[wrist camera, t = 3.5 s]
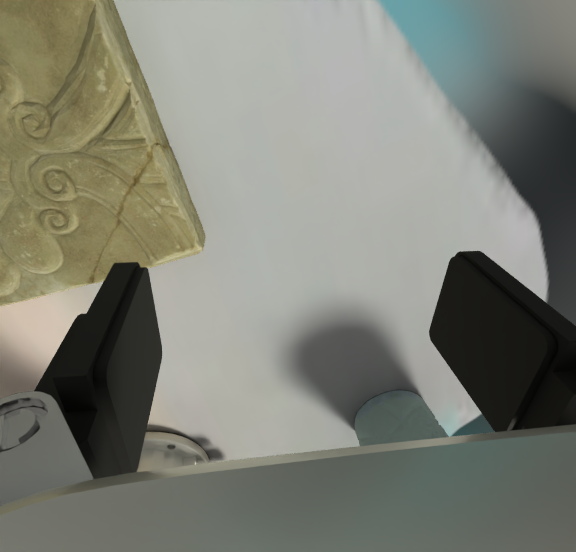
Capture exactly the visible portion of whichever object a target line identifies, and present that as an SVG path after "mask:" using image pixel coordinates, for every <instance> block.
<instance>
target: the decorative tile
mask: <svg viewBox="0 0 576 552" xmlns="http://www.w3.org/2000/svg"><path fill="white" fill-rule="evenodd" d="M204 242H205V233H204V230H203V227H202V224H201V222H200V220H199V217H198V214H197V211H196V209H195V207H194V205H193V202H192V200H191V197H190V195H189V192H188V189H187V186H186V183H185V181H184V178H183V175H182V173H181V170H180V168H179V165H178V163H177V161H176V158H175V156H174V153H173V151H172V148H171V147H170V146H169V142H168V140H167V137H166V134H165V132H164V129H163V126H162V124H161V121H160V118H159V116H158V113H157V110H156V107H155V104H154V101H153V99H152V96H151V93H150V91H149V88H148V86H147V83H146V81H145V79H144V76H143V74H142V72H141V69H140V67H139V64H138V62H137V59H136V57H135V54H134V52H133V50H132V47H131V45H130V42H129V40H128V37H127V34H126V31H125V29H124V26H123V24H122V21H121V19H120V16H119V14H118V11H117V9H116V6H115V3H114V1H113V0H0V306H3V305H8V304H12V303H17V302H22V301H26V300H30V299H34V298H38V297H42V296H45V295H49V294H53V293H57V292H61V291H65V290H69V289H72V288H76V287H80V286H84V285H88V284H92V283H98V282H102V281H104V280H105V279H106V277H107V275H108V273H109V271H110V269H111V267H112V266H113V264H114V263H122V262H138V263H139V264H140V267H147V268H151V267H154V266H158V265H161V264H165V263H168V262H171V261H175V260H178V259H182V258H185V257H188V256H192V255H195V254H198V253H200V252H201V251H203V247H204Z"/></svg>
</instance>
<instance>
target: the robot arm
mask: <svg viewBox="0 0 576 552" xmlns="http://www.w3.org/2000/svg"><path fill="white" fill-rule="evenodd" d="M429 335H430V339H431V341H432V343H433V344H434V346H435V347H436V348H437V350H438V351H439V353H440V354H441V356H442V357H443V358H444V360H445V361H446V363H447V364H448V365H449V367H450V368H451V370H452V371H453V373H454V374H455V375H456V377H457V378H458V380H459V381H460V383H461V384H462V385H463V387H464V388H465V390H466V391H467V393H468V394H469V395H470V397H471V398H472V400H473V401H474V403H475V404H476V405H477V407H478V408H479V410H480V411H481V412H482V414H483V415H484V417H485V418H486V420H487V421H488V422H489V424H490V425H491V427H492V428H493V430H494V431H495V432H493V433H483V434H473V435H464V436H455V437H444V438H434V439H425V440H415V441H406V442H396V443H387V444H377V445H368V446H358V447H349V448H339V449H330V450H321V451H312V452H303V453H294V454H285V455H276V456H267V457H257V458H248V459H239V460H230V461H221V462H213V463H210V462H209V458H208V456H207V454H206V452H205V451H204V450H203V449H202V448H201V447H200V446H199V445H197V444H196V443H194V442H193V441H191V440H189V439H187V438H185V437H182V436H179V435H175V434H171V433H164V432H146V429H147V424H148V420H149V415H150V411H151V406H152V401H153V397H154V392H155V387H156V383H157V378H158V373H159V369H160V364H161V359H162V345H161V339H160V333H159V328H158V322H157V317H156V311H155V305H154V300H153V294H152V289H151V283H150V277H149V272H148V269H147V267H140V264H139V263H138V262H122V263H114V264H113V266H112V267H111V269H110V271H109V273H108V275H107V277H106V279H105V280H104V282H103V284H102V286H101V288H100V290H99V291H98V293H97V295H96V297H95V299H94V301H93V303H92V304H91V306H90V308H89V310H88V312H87V314H80V315H78V316H77V318H76V319H75V320H74V322H73V324H72V326H71V327H70V329H69V331H68V333H67V334H66V336H65V338H64V340H63V341H62V343H61V345H60V347H59V348H58V350H57V352H56V354H55V355H54V357H53V359H52V361H51V362H50V364H49V366H48V368H47V369H46V371H45V373H44V375H43V376H42V378H41V380H40V382H39V383H38V385H37V387H36V389H35V390H34V391H28V392H22V393H16V394H13V395H10V396H7V397H4V398H1V399H0V552H576V326H575V325H573V324H572V323H571V322H570V321H568V320H567V319H566V318H564V317H563V316H562V315H561V314H559V313H558V312H557V311H556V310H554V309H553V308H552V307H551V306H549V305H548V304H547V303H546V302H544V301H543V300H542V299H541V298H539V297H538V296H537V295H536V294H534V293H533V292H532V291H531V290H529V289H528V288H527V287H525V286H524V285H523V284H522V283H520V282H519V281H518V280H517V279H515V278H514V277H513V276H512V275H510V274H509V273H508V272H506V271H505V270H504V269H503V268H501V267H500V266H499V265H498V264H496V263H495V262H494V261H493V260H491V259H490V258H489V257H487V256H486V255H485V254H484V253H482V252H480V251H464V252H458V253H457V254H456V255H455V257H452V258H451V259H450V262H449V265H448V268H447V272H446V275H445V278H444V282H443V285H442V289H441V292H440V295H439V299H438V302H437V306H436V309H435V313H434V316H433V319H432V323H431V326H430V330H429Z"/></svg>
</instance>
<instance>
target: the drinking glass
mask: <svg viewBox="0 0 576 552" xmlns="http://www.w3.org/2000/svg"><path fill="white" fill-rule="evenodd" d="M355 431H356V434H357V438H358V440H359V444H360V446H368V445H377V444H387V443H396V442H406V441H415V440H425V439H434V438H444V437H449V436H448V435H447V434H446V432H445V430H444V429H443V428H442V427H441V425H438V421H437V420H436V419H435V416H434V414H433V413H432V412H431V410H430V409H429V407H428V406H427V404H426V403H425V401H424V400H423V399H422V398H421V397H420V396H419V395H417V394H415V393H413V392H410V391H404V390H396V391H390V392H386V393H383V394H380V395H378V396H376V397H374V398H372V399H370V400H369V401H367V402H366V403H365V404H364V405H363V406H362V407H361V409H359V410H358V414H357V415H356V418H355Z"/></svg>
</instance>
